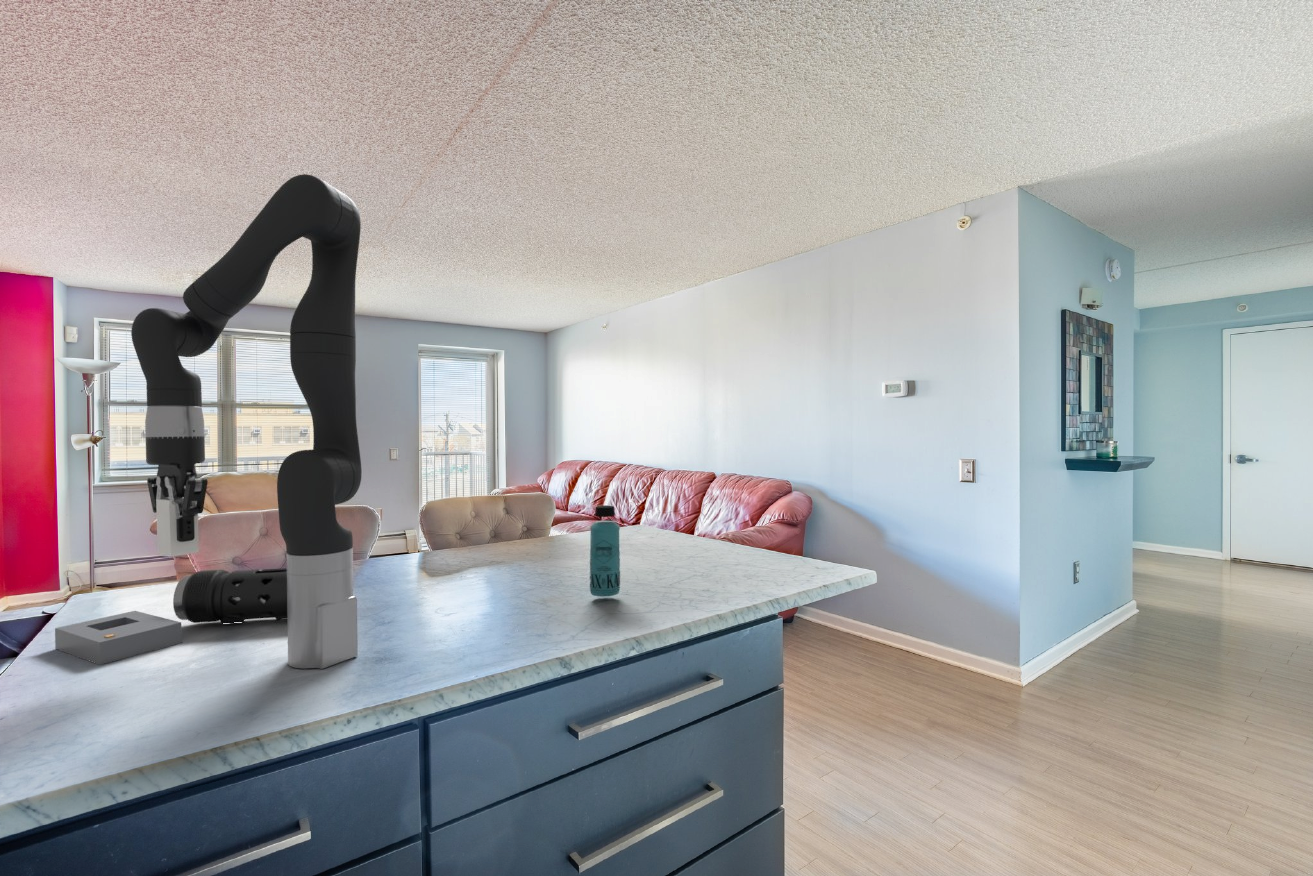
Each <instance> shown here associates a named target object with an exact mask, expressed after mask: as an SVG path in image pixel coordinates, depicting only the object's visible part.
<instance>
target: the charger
mask: <svg viewBox="0 0 1313 876" xmlns="http://www.w3.org/2000/svg"><path fill="white" fill-rule="evenodd" d="M178 498H184V497H178ZM195 504H197V501H196V503H195ZM182 506H183V504H182ZM156 509H157V513H156V539H157V540H156V545H157V546H156V548H157V556H161V557H168V558H174V557H181V556H186V555H192V554H198V553H200V541H199V540H200V534H199V514H197V516H196V517H194V535H195V538H194V539H193V540H192V541H185V542H179V541H177V524H176V519H177V517H176V513H175V505H174V504H172V500H170V499H169V498H167V499H156Z"/></svg>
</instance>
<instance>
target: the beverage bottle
mask: <svg viewBox="0 0 1313 876" xmlns="http://www.w3.org/2000/svg"><path fill="white" fill-rule="evenodd" d="M615 515H616V513H615V507H614V506H613V505H598V506H595V515H594V517H596V518H597V517H599V518H608V517H615ZM620 528H621V527H620V525H619V524H618V523H617V522H616V521H613V520H598V521H597V520H596V521H594V523H592V524H591V525H590V527H589V529H590V544H589V545H590V551H589V568H588V569H589V574H588V575H589V592H590V595H592V596H595V597H604V598H605V597H612V596H616V595H618V594H619V593H620V589H621V570H620V569H621V557H620V556H621V553H620V552H621V551H620Z"/></svg>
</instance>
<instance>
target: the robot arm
mask: <svg viewBox="0 0 1313 876" xmlns="http://www.w3.org/2000/svg"><path fill="white" fill-rule="evenodd" d="M360 214H361V213H360V212H359V209H358V206H357V205H356V203H355V202H354V200H352V198H350V197H349V196H348V195H347V194H345V193H344V192H343V191H341V190H339V189H337V188H336V187H334V186H333V185H331V184H329V183H328V182H327V181H325V180H323V179H322V178H320V177H317V176H316V175H312V174H298V175H295V176H293V177H291V178H289V179H288V180H286V181H285V182H284V183H283V184H282V185H281V186H280V187H279V188H278V189H277V190H276V192H274V193H273V195H271V197H270V199H269V200H268V201H267V202H266V204H265V205H264V206H263V208H262V209H261V210H260V212H259V213H258V214H257V216H255V218H253V220H252V221H251V223H250V224H249V225H248V227H247V228H246V229H245V231H244V232H243V233H242V234H241V235H240V237H239V238H238V239H237V240H236V242H235V243H234V244H233V245H232V246H231V248H230V249H229V250H228V251H227V252H226V253H225V254H224V255H223V256H221V258H220V259H219V260H218V261H216V263H214V264H213V265H212V266H210V267H209V268H208V269H207V270H206V271H205V272H203V273H202V274H201V275H200V276H199V277H198V278H197V279H195V280H194V281H193V282H192V283H191V284H190V285H189V286H187V288H185V290H184V292H183V294H182V300H183V303H184V305H185V306H186V308H187V309H188V310H189V311H188V312H185V313H180V312H177V311H173V310H168V309H164V308H158V307H153V308H152V307H151V308H146V309H143V310H142V311H140V312H139V313H138V314H137V315H136V317H135V318H134V319H133V322H132V324H131V325H132V326H131V330H130V331H131V333H130V334H131V341H132V344H133V348H134V351H135V353H136V356H137V359H138V360H137V361H139V366H140V368H141V371H142V373H143V377H144V378H145V380H146V381H145V382H146V406H147V407H146V413H145V419H144V420H145V421H144V424H145V426H144V427H145V428H144V429H145V431H144V432H145V462H146V464H147V465H150V466H158V467H157V472H156V476H154V477H147V480H146V481H147V482H146V483H147V487H148V492H149V493H148V494H149V497H150V498H149V499H150V503H151V508H152V512H153V513H156V514H157V509H156V499H167V498H169V499H170V500H172V504H174V505H175V513H176V517H177V519H176V524H177V541H179V542H185V541H192V540H193V539H194V538H195V535H194V517H196V516H197V514H198V515H200V514H203V512H204V506H205V501H206V494H207V489H208V488H207V487H208V483H209V481H208V479H207V477H204V478H203V477H201V478H199V477H197V476H198V474H197V471H196V466H195V465H196V464H202V463H204V462H205V461H206V450H205V448H206V447H205V444H206V442H205V440H206V439H205V438H206V437H205V419H204V414H203V407H202V406H203V403H202V401H203V399H202V398H203V397H202V396H203V395H202V381H201V378H200V376H199V375H198V374H197V373H195V372H194V371H191V370H188V369H186V368H185V367H184V366H183V365H182V362H181V359H180V357H183V358H193V357H197V356H200V355H203V354H204V353H206V352H207V351H209V350H210V349H211V348H212V347H213V346H214V345H215V343H216V342H217V341H218V339H219V337H220V335H221V334H222V332H223V331H224V330H225V328H226V326H227V324H228V322H229V320H230V319H231V318H233V317H234V316H236V315H237V314H238V313H239V312H240V311H242V310H243V309H244V308H245V307H247V305H248V304H250V303H251V302H253V300H254V299H256V297H257V296H258V295H259V293H260V292H261V291H262V289H263V287H264V286H265V283H266V281H267V278H268V276H269V275H268V274H269V272H270V270H271V267H272V265H273V263H274V261H275V259H276V258H277V256H278V255H279V254H280V253H281V252H282V251H283V250H284V249H285V248H287V247H288V246H290V245H291V244H293V243H294V242H296V241H297V240H299V239H300V238H304V239H306V240H308V241H310V243H311V252H312V255H311V256H312V257H311V260H312V263H311V265H312V266H311V267H312V269H311V276H310V281H309V283H308V286H307V288H306V291H305V292H304V293H303V295H302V298H301V299H300V301H299V302H298V305H297V306H296V309H295V311H294V313H293V316H292V318H291V321H290V330H289V334H290V335H289V353H290V356H289V358H290V359H289V361H290V367H291V371H292V374H293V376H294V379H295V381H296V383H297V386H298V387H299V389H300V392H301V394H302V396H303V398H304V400H305V402H306V404H307V406H308V409H309V412H310V415H311V419H312V429H313V446H312V447H313V448H312V449H303V450H298V451H295V452H292V453H291V454H289V455H288V456H286V458H285V459H283V461H282V463H281V465H280V467H279V469H278V473H277V478H276V479H277V480H276V494H277V507H278V508H277V510H278V523H279V530H280V534H281V537H282V538H283V540H284V542H285V548H286V549H285V550H286V553H285V554H286V568H287V618H286V619H287V620H286V621H287V622H286V624H287V664H288V666H290V667H291V668H294V669H295V668H296V669H325V668H327V667H330V666H334V665H336V664H339V663H341V662H344V661H347V660H349V659H353V658H354V657H355V658H356V657H358V655H359V651H358V650H359V649H358V645H359V644H358V643H359V642H358V641H359V640H358V638H359V637H358V636H359V635H358V599H357V597H356V596H355V595H354V548H353V545H354V544H353V541H354V540H353V533H352V531H351V530H350V529H349V528H347V527H344V526H342V525H340V523H339V522H338V520H337V513H336V512H337V511H336V505H341V504H344V503H346V502H348V501H350V500H352V499H353V498H354V497H355V495H356V494H357V493H358V491H359V489H360V486H361V483H362V459H361V450H360V445H359V436H358V427H357V426H358V425H357V408H356V406H357V404H356V401H357V400H356V397H357V396H356V391H357V390H356V361H357V358H356V356H357V351H356V350H357V349H356V347H357V346H356V345H357V344H356V343H357V341H356V339H357V337H356V336H357V335H356V277H357V265H358V257H359V248H360V239H361V228H362V227H361V225H362V224H361V223H362V222H361V215H360ZM178 497H184V498H178ZM196 501H197V504H195V503H196ZM182 504H183V506H182Z"/></svg>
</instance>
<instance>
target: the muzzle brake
mask: <svg viewBox="0 0 1313 876" xmlns="http://www.w3.org/2000/svg"><path fill="white" fill-rule="evenodd" d="M172 605H173V611H174V613H175V616H176V618H178V619H179V620H181V621H189V622H191V623H194V624H196V623H197V624H198V623H211V622H212V623H213V622H220V624H221V625H222V624H223V623H234V622H243V621H244V620H245V621H246V620H258V619H270V618H271V619H272V618H273V619H276V621H281V620H282V619H283V620H284V619H287V567H285V568H284V567H283V568H271V569H270V568H267V569H262V568H261V569H241V570H240V569H239V570H233V571H232V572H230V571H228V570H224V569H210V570H209V569H206V570H198V571H196V572H193V574H186V575H183V576H182V577H181V578H180V579H179V581H178V582H177V584H176V586H175V589H174V593H173V601H172ZM245 621H244V622H245ZM244 622H243V623H244Z"/></svg>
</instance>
